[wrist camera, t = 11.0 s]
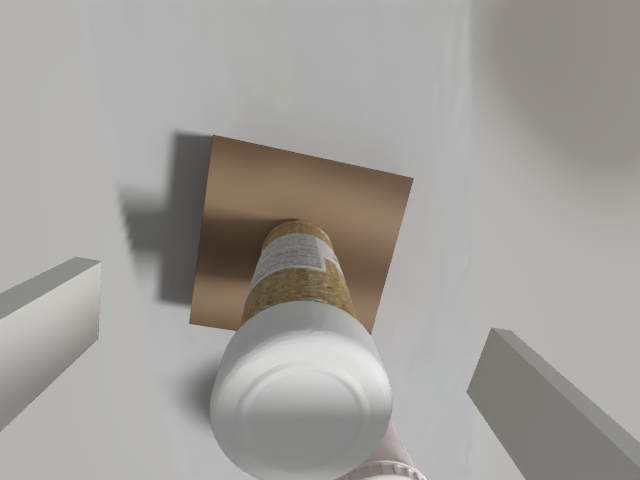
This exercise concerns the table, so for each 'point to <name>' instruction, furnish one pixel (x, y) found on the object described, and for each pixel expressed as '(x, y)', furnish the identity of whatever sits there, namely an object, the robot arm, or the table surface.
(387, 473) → the smoothie
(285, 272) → the sprinkles bottle
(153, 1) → the table surface
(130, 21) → the table surface
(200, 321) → the walnut base
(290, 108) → the table surface
